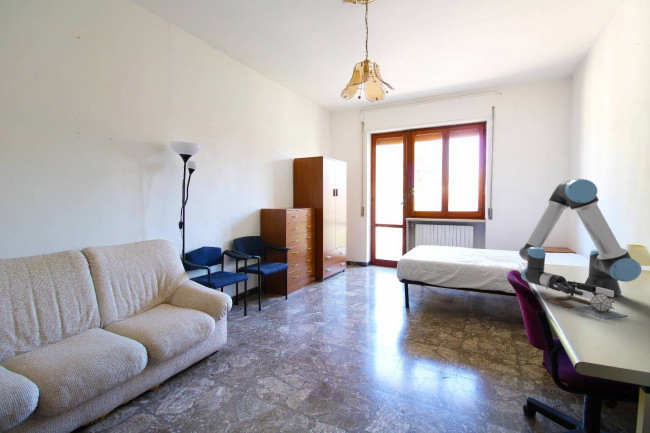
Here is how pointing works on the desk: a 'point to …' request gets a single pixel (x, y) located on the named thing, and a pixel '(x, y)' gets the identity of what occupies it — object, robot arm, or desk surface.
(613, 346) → the desk surface
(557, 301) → the open frame
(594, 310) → the mat
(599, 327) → the desk surface
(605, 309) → the game die
